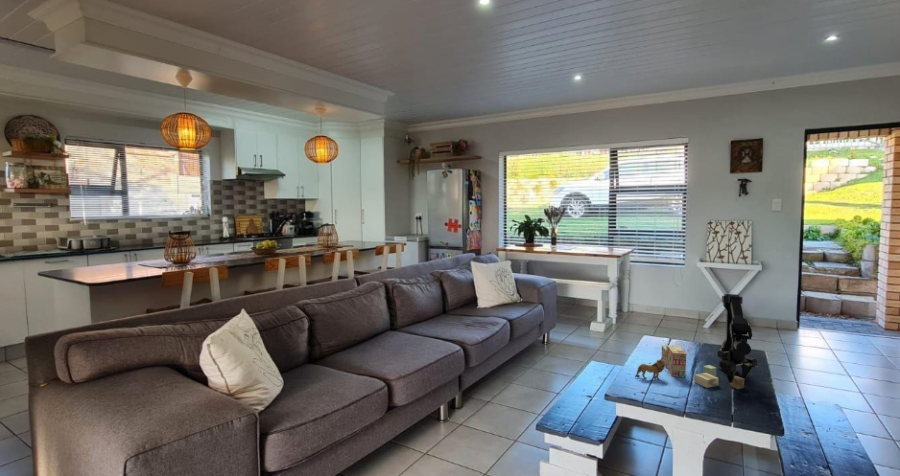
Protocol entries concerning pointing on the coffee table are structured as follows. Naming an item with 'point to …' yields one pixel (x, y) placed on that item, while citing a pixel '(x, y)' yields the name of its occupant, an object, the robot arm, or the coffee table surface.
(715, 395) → the coffee table surface
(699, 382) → the oak block
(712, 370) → the sage block
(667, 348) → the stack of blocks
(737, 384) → the walnut block
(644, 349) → the coffee table surface
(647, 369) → the lion figurine
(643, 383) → the coffee table surface
